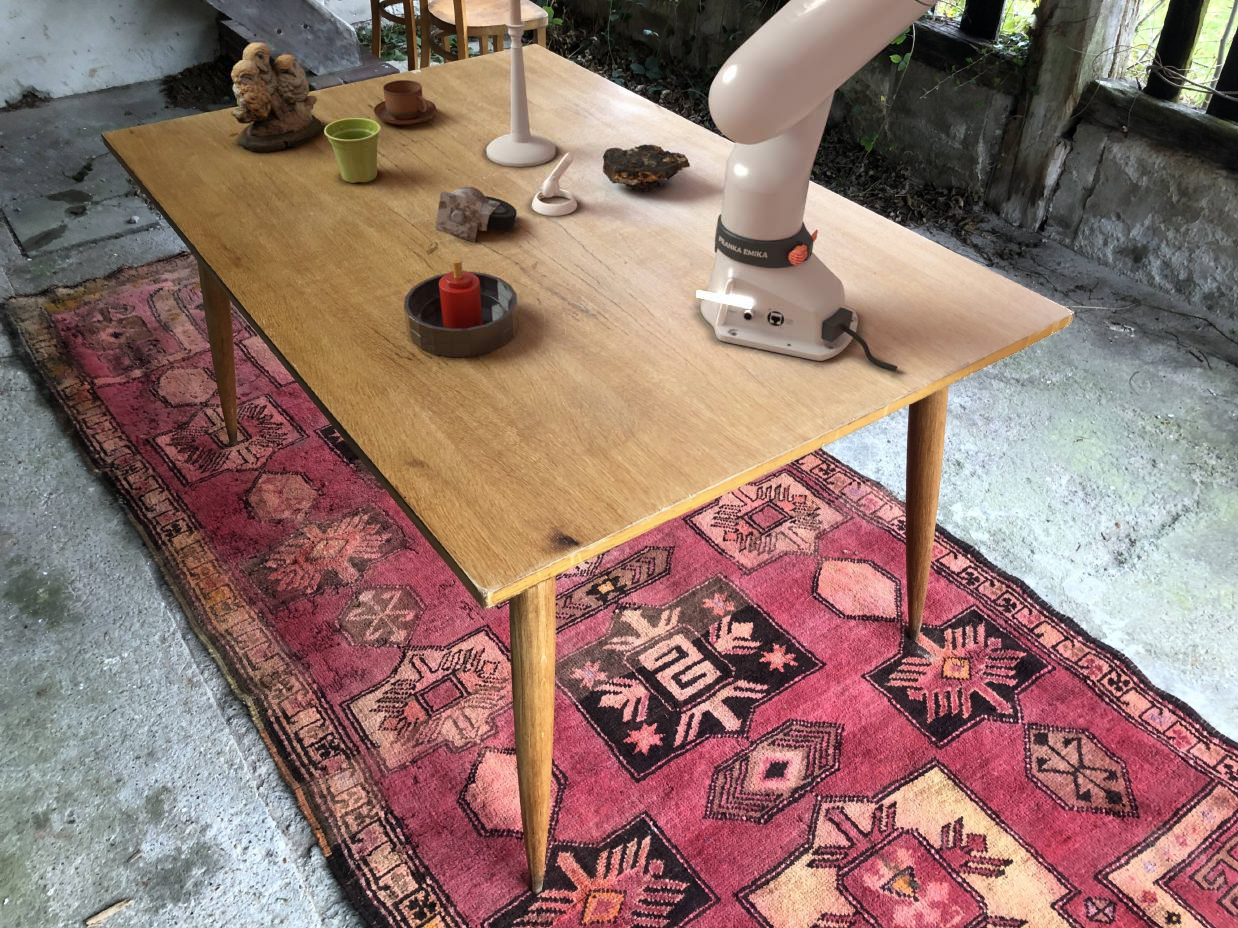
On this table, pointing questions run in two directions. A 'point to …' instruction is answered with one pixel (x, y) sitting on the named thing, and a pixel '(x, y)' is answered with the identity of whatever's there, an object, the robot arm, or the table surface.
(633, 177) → the fossil rock
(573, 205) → the hook
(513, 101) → the candlestick
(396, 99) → the cup and saucer
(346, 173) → the plant pot
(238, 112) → the owl figurine
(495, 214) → the caster wheel
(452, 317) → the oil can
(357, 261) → the table surface
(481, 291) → the bowl
